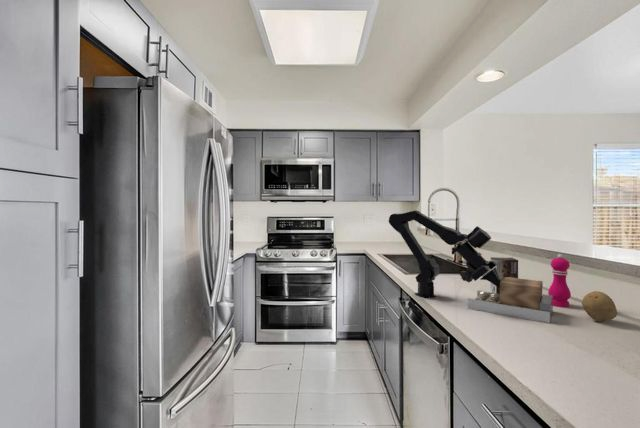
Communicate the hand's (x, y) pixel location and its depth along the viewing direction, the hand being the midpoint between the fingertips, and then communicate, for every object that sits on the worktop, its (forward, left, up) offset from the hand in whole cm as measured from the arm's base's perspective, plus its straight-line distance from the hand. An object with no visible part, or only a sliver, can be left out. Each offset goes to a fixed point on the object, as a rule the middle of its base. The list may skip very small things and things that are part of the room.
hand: (501, 287), depth 126 cm
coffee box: (-13, +17, -8) cm, 23 cm away
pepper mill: (+5, +25, -8) cm, 27 cm away
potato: (+22, +18, -8) cm, 30 cm away
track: (+2, +1, -8) cm, 8 cm away
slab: (+5, +3, -5) cm, 8 cm away
